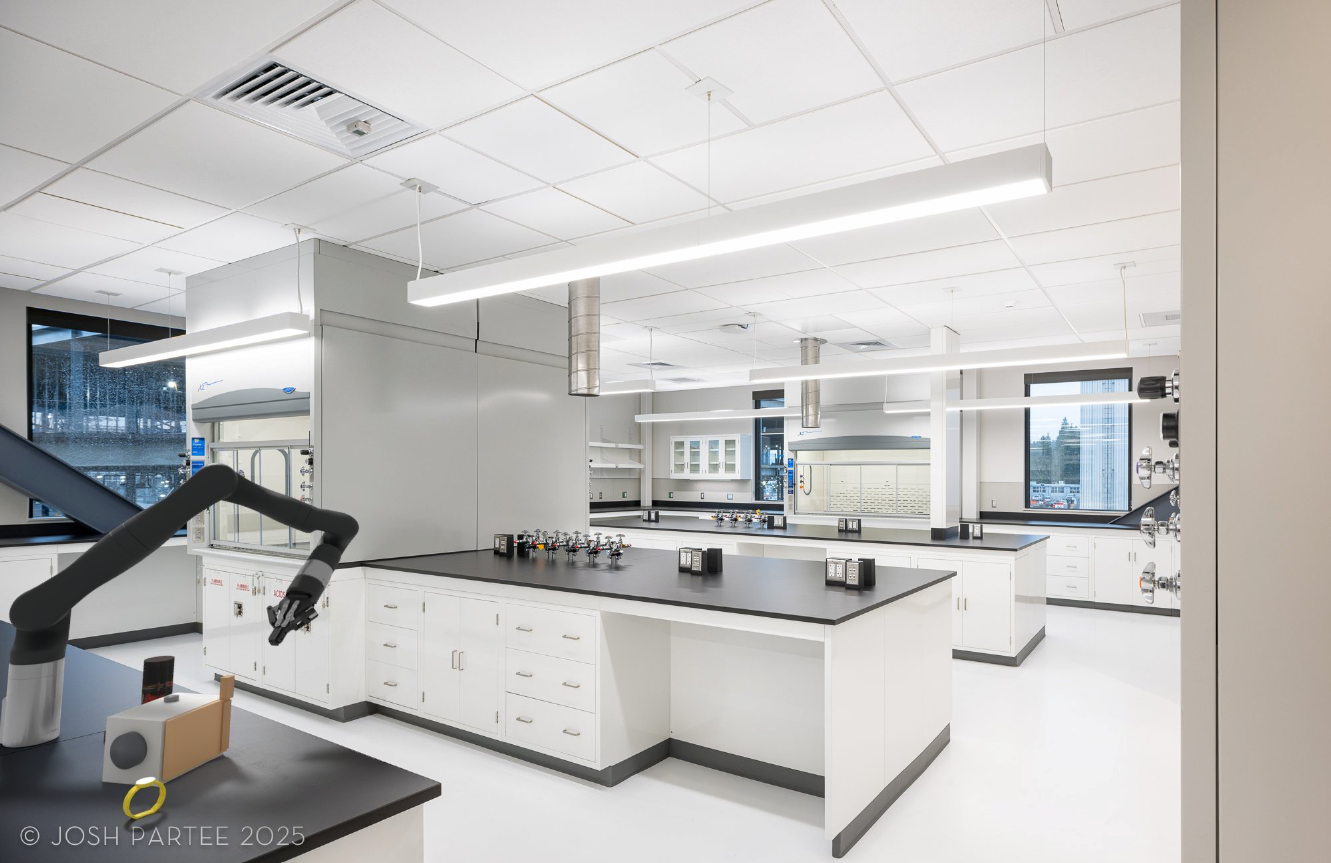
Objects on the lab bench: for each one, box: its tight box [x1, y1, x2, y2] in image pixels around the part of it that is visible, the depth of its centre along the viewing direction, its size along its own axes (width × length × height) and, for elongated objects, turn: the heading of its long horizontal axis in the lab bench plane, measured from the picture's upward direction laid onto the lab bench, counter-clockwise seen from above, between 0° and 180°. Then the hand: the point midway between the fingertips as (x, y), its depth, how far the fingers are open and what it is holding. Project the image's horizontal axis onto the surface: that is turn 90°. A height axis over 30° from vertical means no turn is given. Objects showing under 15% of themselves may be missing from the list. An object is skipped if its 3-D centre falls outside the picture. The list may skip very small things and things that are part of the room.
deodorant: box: [140, 655, 176, 705], centre depth 165 cm, size 6×6×15 cm
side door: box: [162, 674, 236, 781], centre depth 140 cm, size 2×15×16 cm, turn 172°
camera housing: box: [102, 692, 224, 788], centre depth 140 cm, size 12×18×13 cm
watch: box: [122, 777, 167, 820], centre depth 121 cm, size 6×3×6 cm, turn 151°
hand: (273, 643), depth 161 cm, fingers closed
